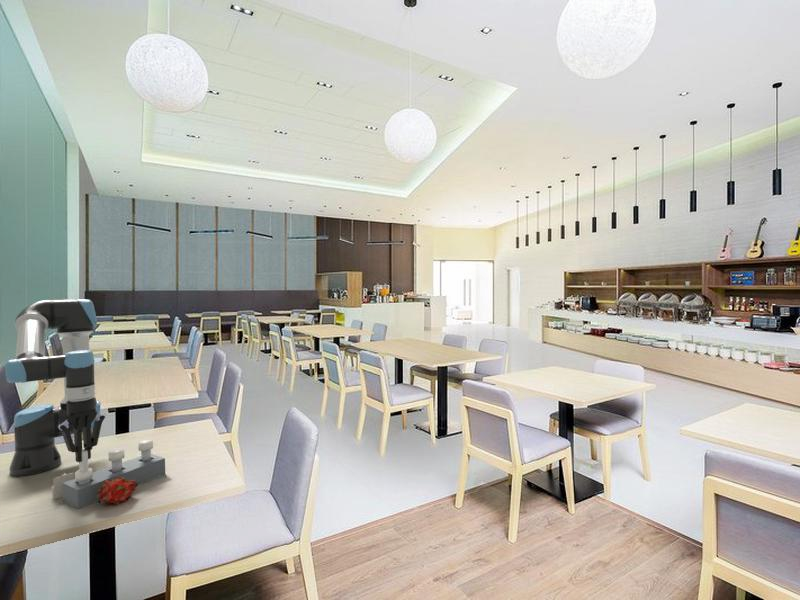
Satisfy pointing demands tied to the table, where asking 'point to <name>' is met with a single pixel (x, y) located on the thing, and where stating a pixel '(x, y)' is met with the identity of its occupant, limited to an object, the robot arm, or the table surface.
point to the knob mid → (116, 459)
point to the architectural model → (60, 484)
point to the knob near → (83, 476)
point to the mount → (130, 471)
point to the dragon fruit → (116, 490)
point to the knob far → (145, 449)
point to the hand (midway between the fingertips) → (83, 470)
